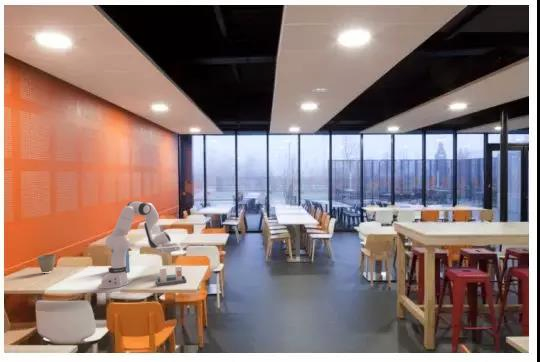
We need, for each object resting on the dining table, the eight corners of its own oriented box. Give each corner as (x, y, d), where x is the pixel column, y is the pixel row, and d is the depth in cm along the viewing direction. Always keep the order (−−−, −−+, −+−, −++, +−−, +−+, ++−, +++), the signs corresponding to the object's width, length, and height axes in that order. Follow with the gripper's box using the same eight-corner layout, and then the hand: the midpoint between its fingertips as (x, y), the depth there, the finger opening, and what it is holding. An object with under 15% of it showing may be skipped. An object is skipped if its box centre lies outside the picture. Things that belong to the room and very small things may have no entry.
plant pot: (50, 274, 349) (49, 257, 349) (34, 275, 349) (33, 257, 349) (60, 270, 364) (59, 253, 364) (44, 271, 364) (43, 254, 364)
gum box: (129, 271, 349) (128, 246, 349) (125, 273, 345) (124, 247, 344) (116, 269, 360) (115, 245, 360) (111, 270, 356) (110, 246, 355)
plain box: (160, 284, 302) (160, 268, 302) (160, 282, 307) (159, 267, 306) (166, 283, 304) (166, 268, 304) (166, 281, 308) (165, 267, 308)
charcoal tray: (157, 286, 297) (157, 283, 297) (156, 282, 310) (156, 279, 310) (186, 282, 304) (186, 279, 304) (184, 278, 318) (184, 275, 318)
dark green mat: (158, 280, 314) (158, 280, 314) (157, 276, 327) (157, 276, 327) (178, 278, 319) (178, 277, 319) (176, 274, 332) (176, 274, 332)
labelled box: (176, 282, 306) (175, 267, 306) (175, 280, 311) (175, 265, 311) (182, 281, 308) (181, 266, 308) (181, 280, 312) (180, 265, 312)
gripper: (155, 245, 337) (156, 248, 324) (179, 243, 344) (180, 245, 331) (155, 252, 337) (156, 255, 324) (179, 250, 344) (181, 252, 331)
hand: (169, 250), depth 327 cm, fingers open, 8 cm apart
